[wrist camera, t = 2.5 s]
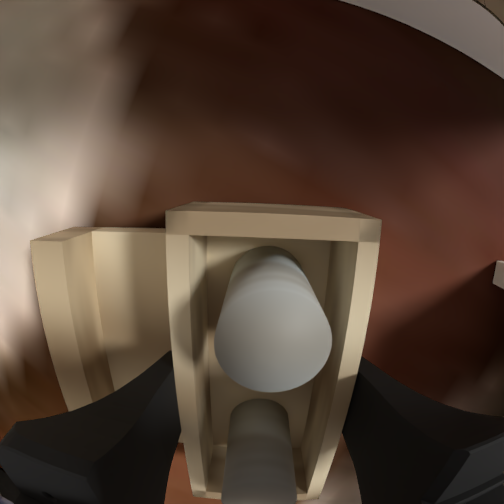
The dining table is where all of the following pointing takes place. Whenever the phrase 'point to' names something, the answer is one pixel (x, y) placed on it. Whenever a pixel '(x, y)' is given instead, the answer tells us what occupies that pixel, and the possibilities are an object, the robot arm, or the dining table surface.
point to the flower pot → (8, 487)
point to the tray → (190, 306)
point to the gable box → (453, 24)
